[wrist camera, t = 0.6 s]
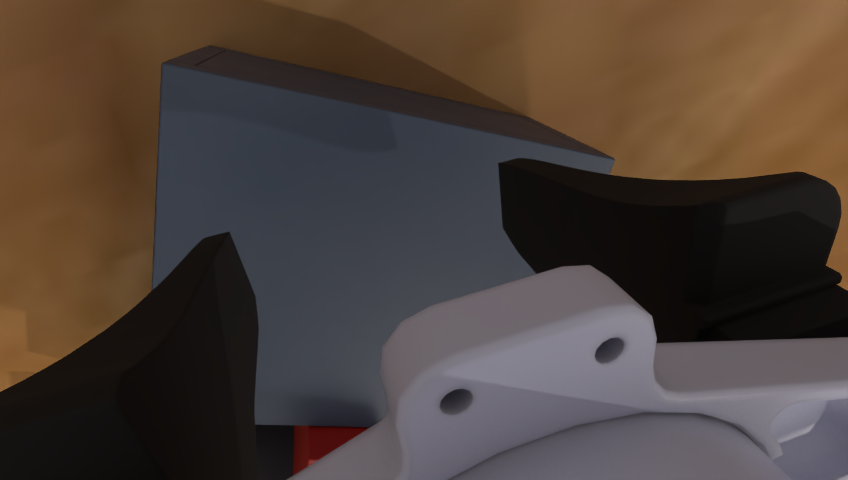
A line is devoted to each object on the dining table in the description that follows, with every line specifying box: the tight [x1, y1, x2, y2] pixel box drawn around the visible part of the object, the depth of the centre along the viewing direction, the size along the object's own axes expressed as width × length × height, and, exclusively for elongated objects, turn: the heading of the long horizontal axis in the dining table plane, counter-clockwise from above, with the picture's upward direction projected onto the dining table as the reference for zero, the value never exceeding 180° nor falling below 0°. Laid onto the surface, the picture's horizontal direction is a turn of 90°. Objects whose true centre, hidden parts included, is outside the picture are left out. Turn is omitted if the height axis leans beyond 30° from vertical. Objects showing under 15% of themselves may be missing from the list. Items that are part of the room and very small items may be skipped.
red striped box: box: [293, 425, 370, 475], centre depth 22 cm, size 5×3×8 cm, turn 167°
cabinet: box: [152, 45, 615, 427], centre depth 21 cm, size 12×14×7 cm
